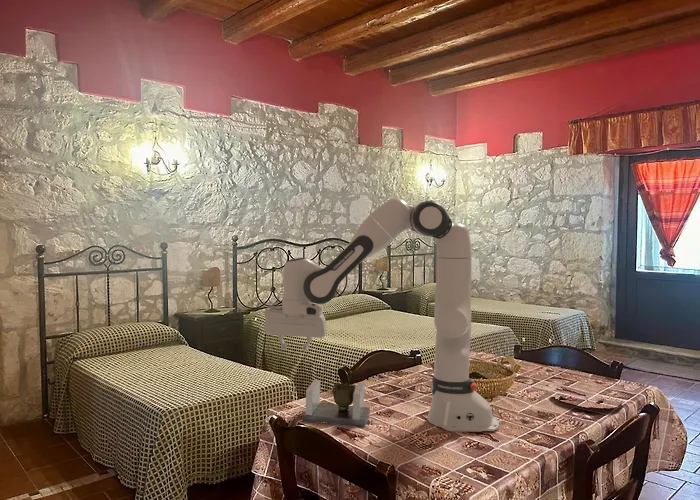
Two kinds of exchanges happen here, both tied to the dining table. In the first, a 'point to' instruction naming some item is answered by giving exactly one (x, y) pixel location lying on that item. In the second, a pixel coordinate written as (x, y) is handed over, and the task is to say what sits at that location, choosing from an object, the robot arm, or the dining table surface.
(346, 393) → the cup
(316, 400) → the sliding jaw
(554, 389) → the dining table surface
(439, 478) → the dining table surface
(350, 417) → the vise
